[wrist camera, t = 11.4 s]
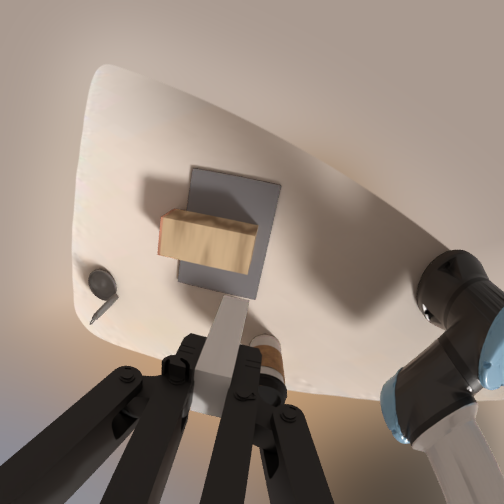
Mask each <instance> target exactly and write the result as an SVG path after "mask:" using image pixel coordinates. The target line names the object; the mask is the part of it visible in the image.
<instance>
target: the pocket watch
mask: <svg viewBox="0 0 504 504" xmlns="http://www.w3.org/2000/svg"><path fill="white" fill-rule="evenodd" d="M88 281H89V286H90V289H91V291H92V292H93V294H94V295H95V296H96V297H98V298H99V299H101V300H105V301H106V302H105V303H104V304H103V305H102V306H101V307H100V308H99V309H98V311H97V312H96V313H95V314H94V315H93V317H92V320H91V322H92V321H93V320H94V321H95V320H97V319H98V318H99V317H100V316H102V315H103V314H104V313H105V312H106V311H107V310H108V309H109V308H110V307H111V306H112V305H113V303H114V302H115V301H116V300H117V299H118V298H119V297H118V295H117V294H116V291H117V287H116V283H115V281H114V279H113V277H112V276H111V275H110V274H109V273H108V272H106V271H104V270H94V271H93V272H92V273H91V274H90V276H89V280H88ZM94 321H93V322H94ZM91 322H90V325H91V324H92V323H93V322H92V323H91Z"/></svg>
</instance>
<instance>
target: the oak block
mask: <svg viewBox="0 0 504 504" xmlns="http://www.w3.org/2000/svg"><path fill="white" fill-rule="evenodd" d="M258 226H259V225H254V224H250V223H245V222H240V221H235V220H230V219H225V218H220V217H215V216H210V215H205V214H200V213H195V212H190V211H185V210H180V209H173V210H171V211H170V212H168V213H166V214H165V215H163V216H162V217H161V221H160V232H159V243H158V255H161V256H165V257H169V258H174V259H178V260H183V261H187V262H191V263H196V264H200V265H205V266H209V267H214V268H218V269H223V270H227V271H232V272H237V273H241V274H246V275H248V271H249V267H250V264H251V260H252V255H253V250H254V245H255V240H256V235H257V231H258Z"/></svg>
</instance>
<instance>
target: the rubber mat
mask: <svg viewBox="0 0 504 504" xmlns="http://www.w3.org/2000/svg"><path fill="white" fill-rule="evenodd" d="M280 189H281V185H278V184H273V183H269V182H264V181H259V180H254V179H250V178H245V177H240V176H234V175H229V174H224V173H219V172H213V171H208V170H202V169H196V168H193V171H192V178H191V184H190V190H189V197H188V204H187V211H190V212H195V213H200V214H205V215H210V216H215V217H220V218H225V219H230V220H235V221H240V222H245V223H250V224H254V225H259V226H258V231H257V235H256V240H255V245H254V250H253V255H252V260H251V264H250V267H249V271H248V275H246V274H241V273H237V272H232V271H227V270H223V269H218V268H214V267H209V266H205V265H200V264H196V263H191V262H187V261H183V260H180V267H179V276H178V282H181V283H185V284H189V285H193V286H197V287H201V288H205V289H210V290H214V291H218V292H222V293H227V294H231V295H236V296H240V297H244V298H249V299H253V300H255V299H256V295H257V291H258V286H259V282H260V278H261V273H262V269H263V264H264V260H265V256H266V251H267V247H268V242H269V238H270V234H271V229H272V225H273V220H274V216H275V211H276V207H277V202H278V198H279V193H280Z"/></svg>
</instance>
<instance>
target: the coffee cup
mask: <svg viewBox="0 0 504 504" xmlns="http://www.w3.org/2000/svg"><path fill="white" fill-rule="evenodd" d="M250 347H255V348H259V349H260V352H261V354H262V362H261V371H260V379H259V387H258V393H259V396H260V397H261V398H262V400H264V401H265V402H266V403H268V404H270V405H272V406H274V407H278V406H279V405H283V404H284V403H285V400H286V398H287V389H286V386H285V378H284V370H283V361H282V354H281V345H280V342H279V341H278V340H277V339H276V338H275V337H273V336H270V335H260V336H257V337H255V338H254V339H253V340H252V342H251V344H250Z"/></svg>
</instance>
